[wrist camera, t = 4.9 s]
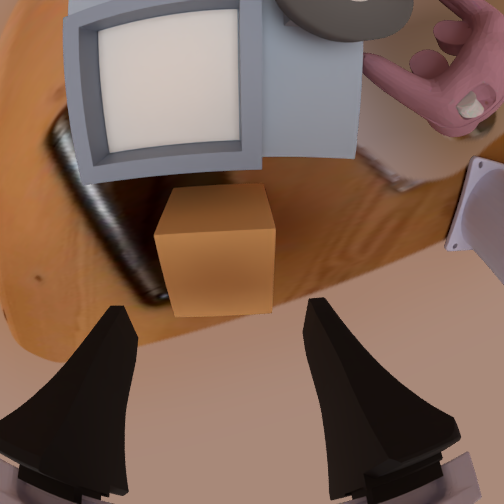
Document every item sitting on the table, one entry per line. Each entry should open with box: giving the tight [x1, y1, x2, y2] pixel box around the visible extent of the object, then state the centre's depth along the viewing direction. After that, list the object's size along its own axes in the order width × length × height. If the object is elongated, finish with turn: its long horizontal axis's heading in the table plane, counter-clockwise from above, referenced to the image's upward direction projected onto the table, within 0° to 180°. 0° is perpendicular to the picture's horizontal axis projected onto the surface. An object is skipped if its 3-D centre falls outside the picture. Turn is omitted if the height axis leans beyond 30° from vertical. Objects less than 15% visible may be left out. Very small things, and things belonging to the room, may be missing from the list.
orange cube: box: [154, 183, 276, 317], centre depth 15 cm, size 5×5×5 cm
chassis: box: [63, 0, 363, 185], centre depth 10 cm, size 14×11×4 cm
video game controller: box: [362, 0, 504, 137], centre depth 8 cm, size 10×5×7 cm, turn 148°
